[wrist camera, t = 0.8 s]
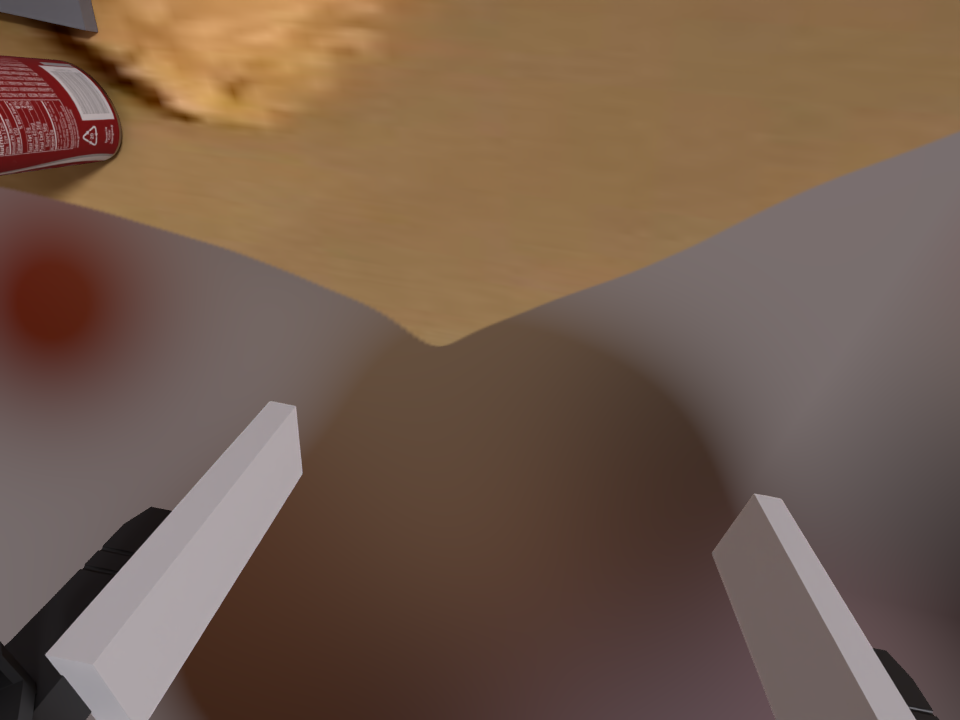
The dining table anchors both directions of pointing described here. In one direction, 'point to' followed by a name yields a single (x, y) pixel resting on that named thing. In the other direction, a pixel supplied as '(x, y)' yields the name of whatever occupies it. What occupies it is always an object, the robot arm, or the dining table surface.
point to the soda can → (53, 116)
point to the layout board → (54, 12)
